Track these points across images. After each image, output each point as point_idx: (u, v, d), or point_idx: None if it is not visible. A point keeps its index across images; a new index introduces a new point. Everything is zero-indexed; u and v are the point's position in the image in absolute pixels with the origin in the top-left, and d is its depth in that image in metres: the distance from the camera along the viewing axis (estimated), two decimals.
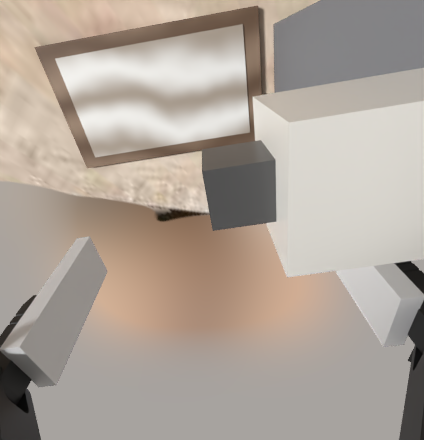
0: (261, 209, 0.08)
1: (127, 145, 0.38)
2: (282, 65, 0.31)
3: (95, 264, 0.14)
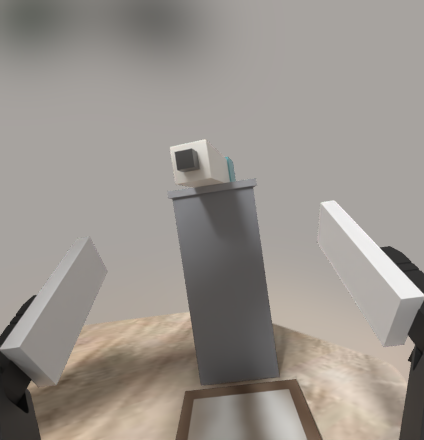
0: None
1: None
2: (225, 356, 0.38)
3: (95, 264, 0.14)
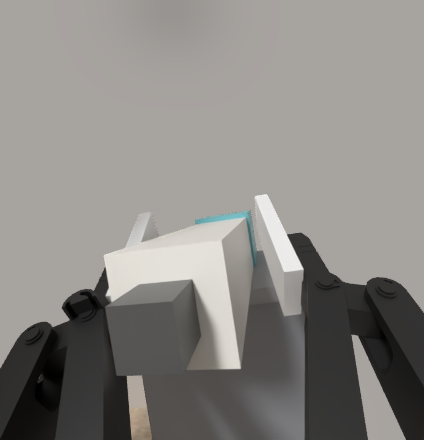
0: (173, 284, 0.08)
1: None
2: None
3: (155, 237, 0.16)
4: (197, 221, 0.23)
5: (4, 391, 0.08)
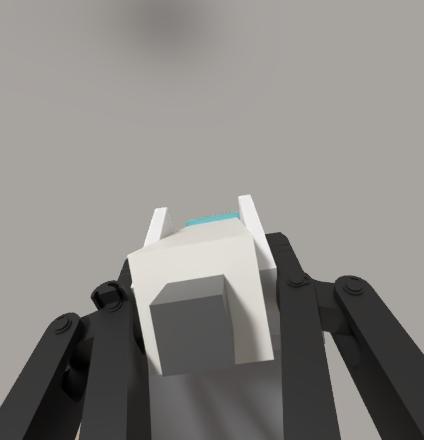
0: (207, 280, 0.08)
1: None
2: None
3: (171, 232, 0.16)
4: (188, 223, 0.23)
5: (34, 379, 0.08)
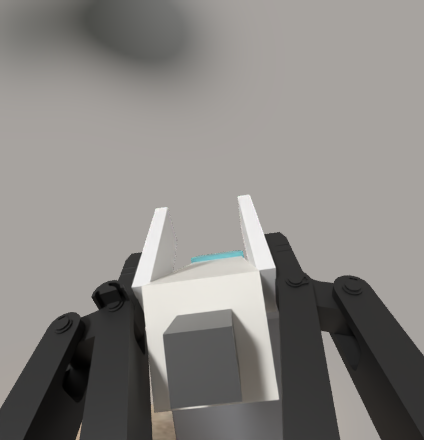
0: (216, 313, 0.09)
1: None
2: None
3: (171, 232, 0.16)
4: (193, 259, 0.23)
5: (34, 378, 0.08)
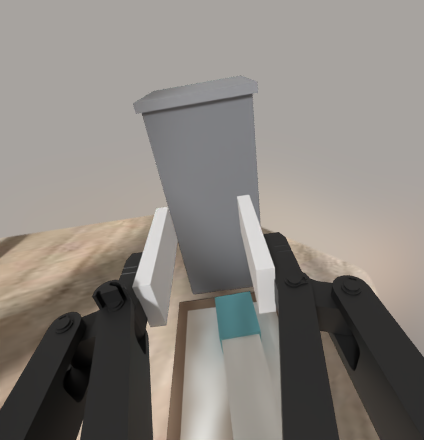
0: None
1: None
2: (215, 273, 0.40)
3: (172, 232, 0.16)
4: (221, 339, 0.29)
5: (35, 378, 0.08)
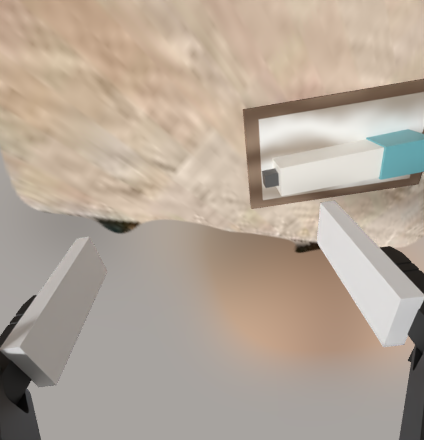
0: (275, 183, 0.38)
1: None
2: None
3: (95, 264, 0.14)
4: (385, 148, 0.34)
5: None
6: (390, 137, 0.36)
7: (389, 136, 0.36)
